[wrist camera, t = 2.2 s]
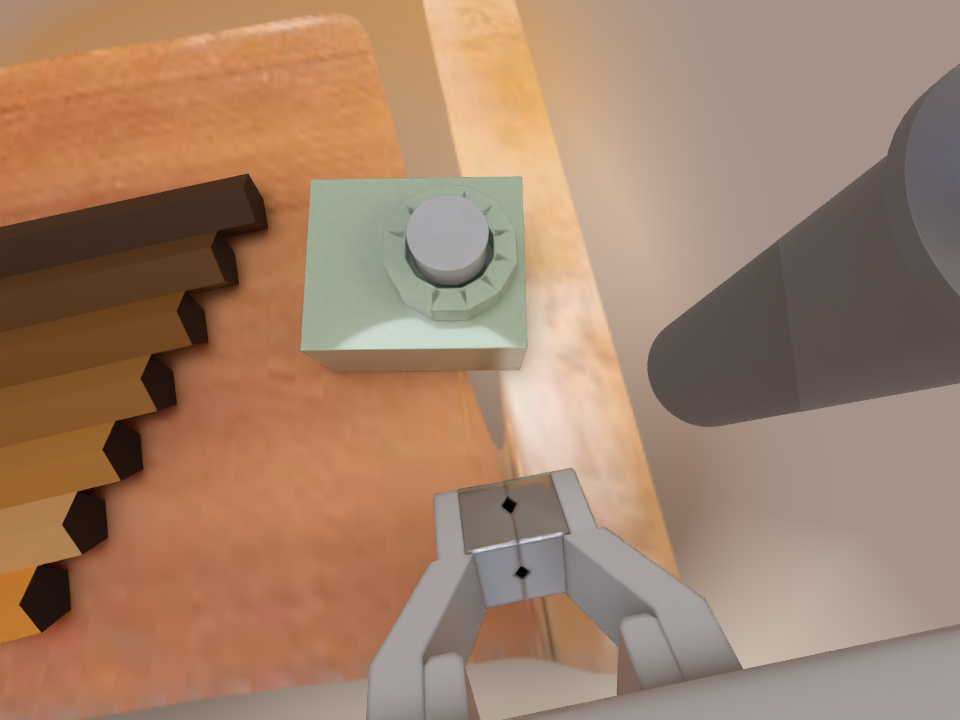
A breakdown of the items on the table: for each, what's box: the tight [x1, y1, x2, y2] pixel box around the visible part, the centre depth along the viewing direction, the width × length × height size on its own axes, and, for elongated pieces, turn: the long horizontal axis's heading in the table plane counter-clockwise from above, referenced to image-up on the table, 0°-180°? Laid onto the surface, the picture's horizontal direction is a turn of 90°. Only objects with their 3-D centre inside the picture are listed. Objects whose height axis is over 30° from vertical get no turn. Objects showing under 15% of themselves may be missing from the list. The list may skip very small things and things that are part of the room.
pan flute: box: [0, 174, 268, 643], centre depth 31 cm, size 25×3×25 cm
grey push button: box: [406, 194, 489, 285], centre depth 26 cm, size 4×4×2 cm
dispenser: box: [300, 177, 527, 372], centre depth 30 cm, size 12×10×8 cm
